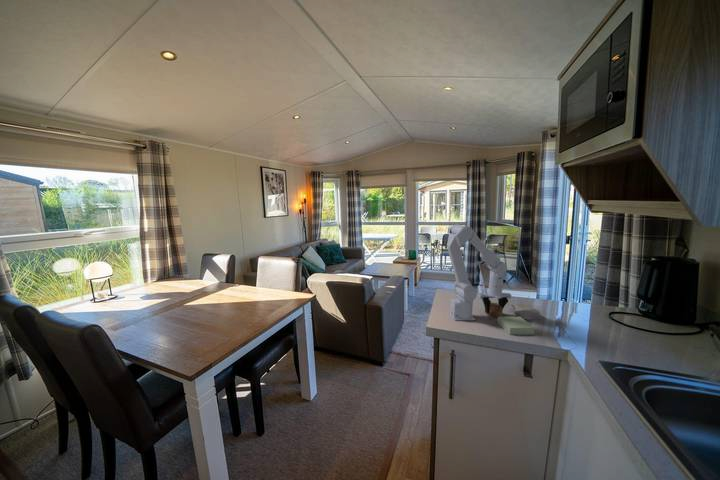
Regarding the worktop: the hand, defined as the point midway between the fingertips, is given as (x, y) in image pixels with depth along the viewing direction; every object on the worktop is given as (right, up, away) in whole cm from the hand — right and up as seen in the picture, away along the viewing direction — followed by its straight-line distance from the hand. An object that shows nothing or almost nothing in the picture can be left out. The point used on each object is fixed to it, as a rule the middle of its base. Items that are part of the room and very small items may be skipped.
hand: (493, 312), depth 125 cm
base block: (+3, -4, -13) cm, 13 cm away
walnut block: (0, -1, 0) cm, 1 cm away
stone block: (+15, -2, +1) cm, 15 cm away
